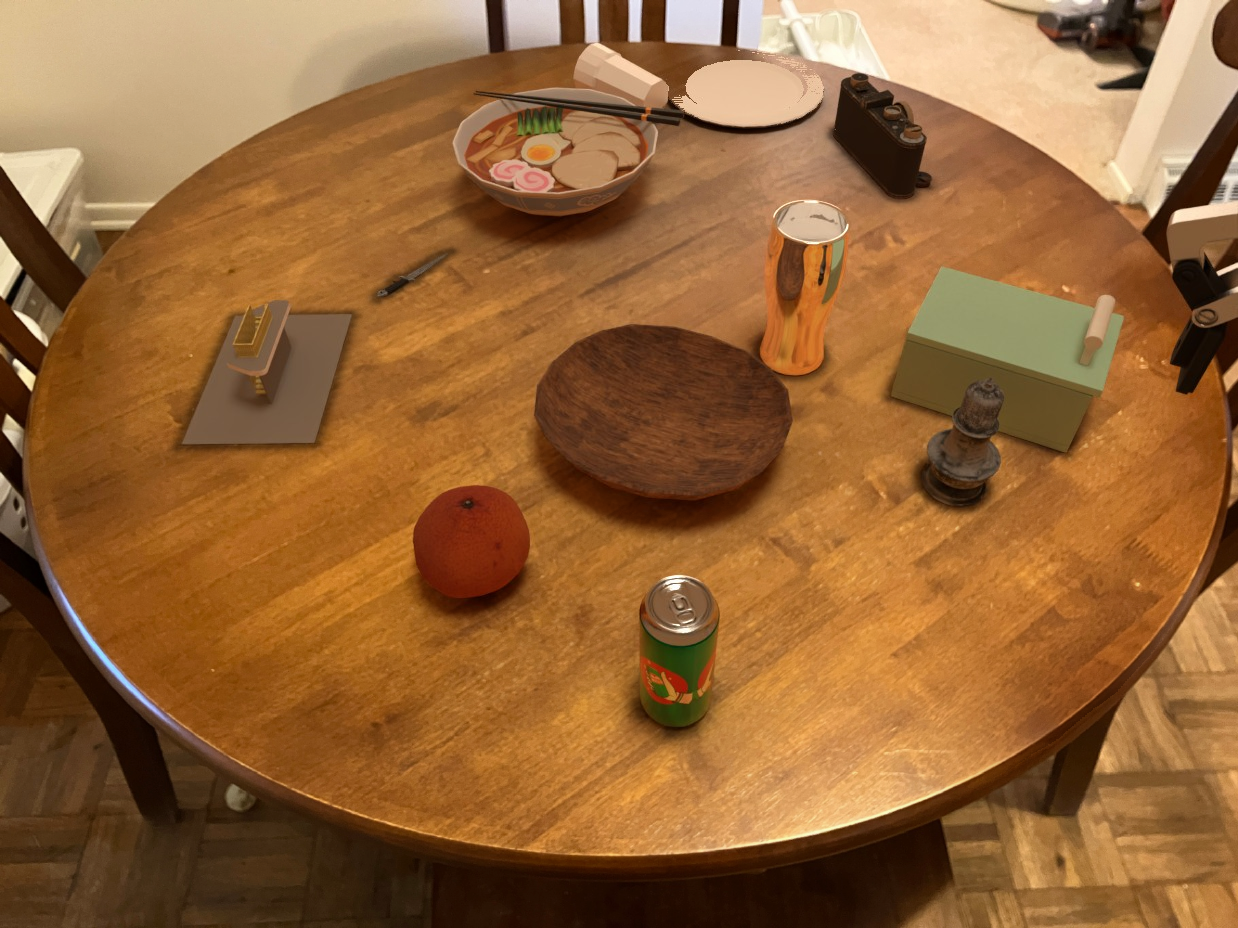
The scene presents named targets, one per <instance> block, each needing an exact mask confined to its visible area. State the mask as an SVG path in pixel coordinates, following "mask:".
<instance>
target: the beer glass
mask: <svg viewBox="0 0 1238 928" xmlns="http://www.w3.org/2000/svg"><path fill="white" fill-rule="evenodd" d="M851 227H852V224H851V220H850V217H849V215H848V214H847V213H846V212H845V211H844V210H842V209H841V208H839V207H838V206H836V205H834V204H832V203H829V202H826V201H821V200H817V199H800V200H793V201H790V202H787V203H784V204H783V205H781V206H779V208H778V209H777V210H776V211H774V213H773V215H772V222H771V227H770V232H769V235H768V236H769V237H768V241H767V246H766V251H765V259H764V260H765V262H764V290H765V291H764V292H765V301H766V311H767V312H766V313H767V320H766V321H767V322H766V328H765V332H764V334H763V337H762V340H761V343H760V346H759V356H760V360H761V361H762V362H763V363H765V364H766V365H767V366H769V367H770V368H771V369H772V370H773V371H774V372H775V373H778V374H781V375H786V376H803V375H807V374H810V373H813V371H815V370H817V369H819V367H821V365H822V363H823V361H824V356H825V347H824V334H825V333H824V332H825V327H826V325H827V321H828V318H829V317H830V314H831V311H832V310H833V307H834V304H835V302H836V300H837V297H838V294H839V292H840V288H841V285H842V283H843V279H844V275H845V270H846V266H847V260H848V253H849V252H848V251H849V242H850V241H849V240H850V232H851V231H850V230H851Z"/></svg>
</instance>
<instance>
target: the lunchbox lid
mask: <svg viewBox="0 0 1238 928" xmlns="http://www.w3.org/2000/svg"><path fill="white" fill-rule="evenodd" d="M1115 306H1116V298H1114V296H1112V295H1110V294H1102V295H1100V296H1099V297H1098V298H1097V300H1096V302H1095V306H1094V307H1093V306H1090V305H1086V304H1081V303H1080V302H1079V303H1078V302H1075V301H1070V300H1067V299H1064V298H1060V297H1057V296H1052V295H1048V294H1045V293H1042V292H1039V291H1034V290H1030V289H1027V288H1023V287H1019V286H1016V285H1013V284H1009V283H1005V282H1002V281H998V280H994V279H990V278H986V277H983V276H979V275H975V274H971V273H967V272H964V271H961V270H957V269H953V268H950V267H946V266H943V265H941V266H940V268H939V270H938V271H937V274H936V276H935V277H934V280H933V281H932V283H931V285H930V287H929V289H928V291H927V293H926V295H925V297H924V298H923V301H922V303H921V305H920V307H919V308H918V311H917V313H916V315H915V317H914V319H913V321H912V322H911V324H910V327H909V329H908V331H907V333H906V336H905V340H906V339H907V340H910V341H913V342H917V343H920V344H923V345H927V346H930V347H933V348H936V349H940V350H943V351H946V352H950V353H953V354H956V355H960V356H963V357H966V358H970V359H973V360H976V361H980V362H983V363H986V364H990V365H993V366H996V367H999V368H1003V369H1006V370H1009V371H1013V372H1016V373H1019V374H1023V375H1026V376H1029V377H1033V378H1036V379H1039V380H1043V381H1046V382H1049V383H1053V384H1056V385H1059V386H1062V387H1066V388H1069V389H1072V390H1076V391H1079V392H1082V393H1086V394H1089V395H1092V396H1093V397H1095V398H1101V396H1102V394H1103V392H1104V389H1105V386H1106V382H1107V379H1108V376H1109V372H1110V369H1111V364H1112V361H1113V358H1114V354H1115V352H1116V347H1117V344H1118V340H1119V337H1120V333H1121V329H1122V327H1123V323H1124V320H1125V315H1122V314H1119V313H1116V312H1114V309H1115Z"/></svg>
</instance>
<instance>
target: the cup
mask: <svg viewBox="0 0 1238 928" xmlns="http://www.w3.org/2000/svg"><path fill="white" fill-rule="evenodd" d="M572 79H573V84H574V88H576V89H592V90H596V91H599V92H603V93H607V94H611V95H614V96H618V97H622V98H624V99H626V100H627V101H629V102H631V103H633V104H634V105H636V106H641V107H648V108H662V107H663V106H665V107H666V105H667V104H668V101H669V98H668V91H669V86H668V85H667V84H666V80H664V79H662V78H661V77H659V76H656V75H654V74H653V73H651V72H649V71H647V70H645V69H644V68H642V67H640V66H639V65H637V64H635V63H634V62H631V61H629V60H628V59H626V58H624V57H623V56H622V55H621V53H620V52H618V51H615V50H614V49H612V48H610V47H609V46H606V45H605V44H603V43H600V42H594V43H591V44H589V45H588V46H586V48H584V49H583V51H582V53H581V54H580V55H579V57H578V58H577V61H576V64H575V66H574V72H573V77H572ZM665 107H664V108H663V109H665ZM649 115H651V114H649ZM657 116H660V115H657Z"/></svg>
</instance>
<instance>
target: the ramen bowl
mask: <svg viewBox="0 0 1238 928" xmlns="http://www.w3.org/2000/svg"><path fill="white" fill-rule="evenodd" d="M473 95H474V96H480V97H486V98H494V99H496V100H494V101H491V102H488V103H486V104H483V105H482V106H481V107H479V108H478V109H477V110H475V111H474V112H473V113H471V114H470V115H469V116H467V117H466V118H465V119H463V120H462V121H461V122H460V124H459V126H458V128H457V131H456V133H455V134H454V138H453V140H452V142H451V143H452V147H453V150H454V151H453V152H454V153H455V157H456V161H457V164H458V165H459V167H460V168H461V169H462V170H463V172H464V174H465V175H466V176H467V177H468V178H469V179H470V180H471V181H472V182H473V183H474V184H475V185H476V186H478V188H480V189H481V190H483V191H484V192H485V193H487V194H488V195H489V196H490V197H492V198H493V199H494V200H496V201H497V202H498V203H500V204H501V205H503V206H505V207H508V208H511V209H514V210H517V211H520V212H523V213H526V214H529V215H533V216H548V217H549V216H552V217H563V216H564V217H565V216H569V215H570V216H571V215H575V214H582V213H587V212H591V211H592V210H595V209H597V208H599V207H601V206H603V205H605V204H608V203H610V202H613V201H615V200H617V199H618V198H619V196H620V195H622V194H623V193H624V192H625V191H626V189H628V188H629V187H630V186H631V185H632V184H633V183H634V182H635V181H636V180H638V178H639V177H640V176H641V175H642V173H643V172H644V171H645V170H646V168H647V167H648V165H649V164H650V162H651V161H652V158H653V157H654V156H655V153H656V148H657V142H658V136H659V130H658V128H657V127H656V125H655V123H657V124H663V125H669V126H674V127H679V126H680V125H681V119H684V118H685V113H684V111H683V110H679V109H673V108H664V109H662V108H648V107H641V106H636V105H634V104H633V103H631V102H629V101H627V100H626V99H624V98H622V97H618V96H614V95H611V94H607V93H603V92H599V91H596V90H592V89H576V88H575V87H574V88H573V87H547V88H541V89H540V88H539V89H534V90H527V91H520V92H515V93H503V92H494V91H493V92H491V91H483V90H475V92H473ZM649 114H652V115H649ZM657 115H660V116H657Z"/></svg>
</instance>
